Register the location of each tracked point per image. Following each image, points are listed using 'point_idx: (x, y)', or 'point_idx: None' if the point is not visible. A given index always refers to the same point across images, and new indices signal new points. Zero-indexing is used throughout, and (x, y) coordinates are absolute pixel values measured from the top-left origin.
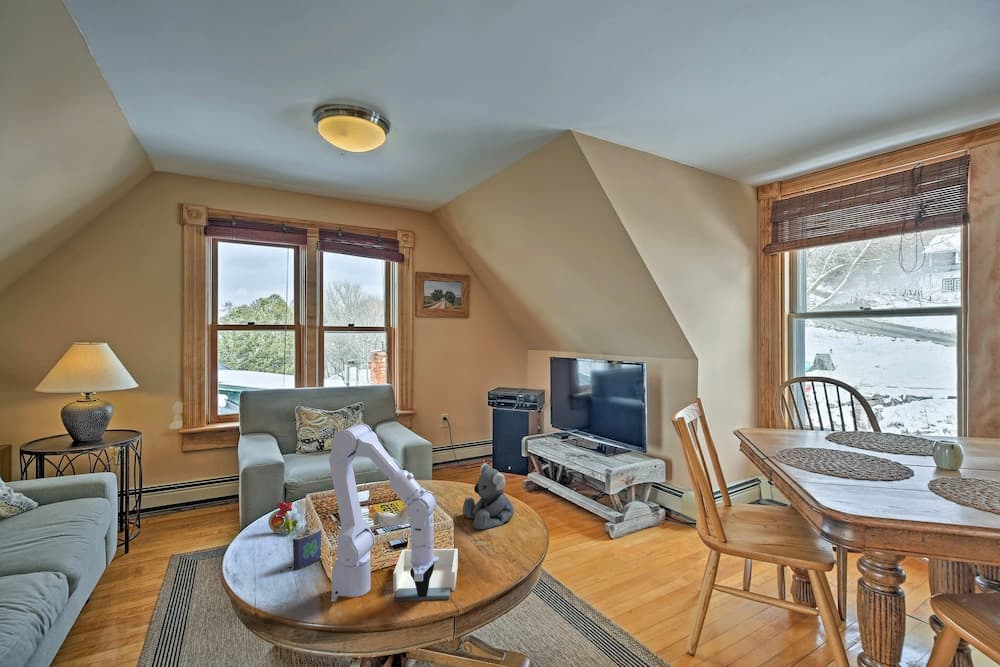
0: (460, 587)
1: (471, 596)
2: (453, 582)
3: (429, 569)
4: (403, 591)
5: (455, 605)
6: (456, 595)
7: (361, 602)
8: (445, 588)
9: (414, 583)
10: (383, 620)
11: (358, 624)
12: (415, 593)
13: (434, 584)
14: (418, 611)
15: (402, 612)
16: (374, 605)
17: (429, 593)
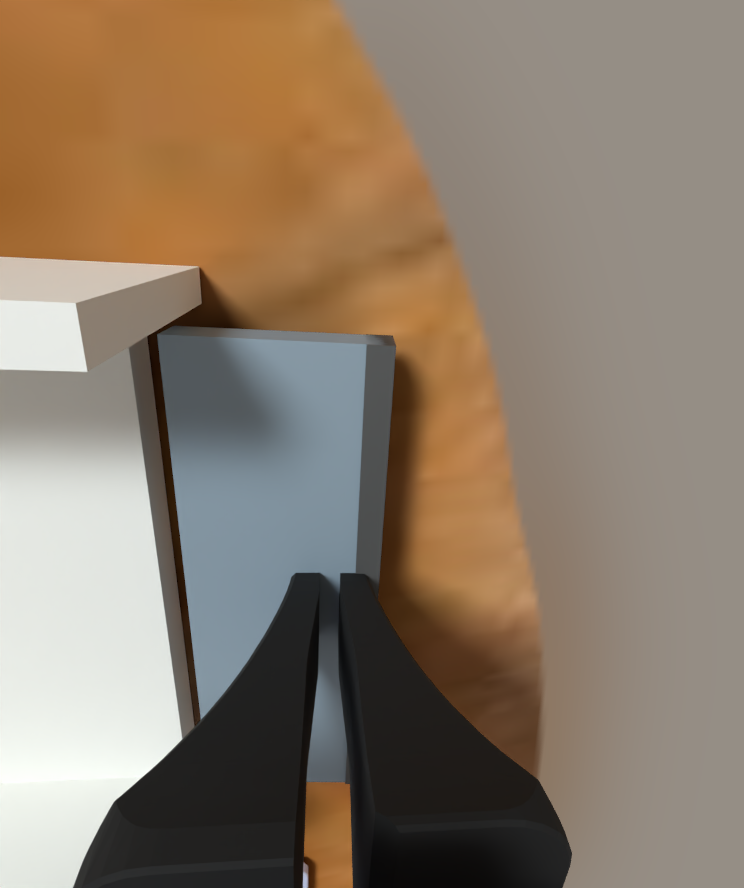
0: (16, 191)
1: (225, 24)
2: (154, 300)
3: (400, 877)
4: None
5: (408, 253)
6: (208, 244)
7: (308, 875)
8: (190, 394)
9: (84, 681)
10: (519, 746)
11: None
12: None
13: (75, 512)
14: (456, 573)
15: (450, 668)
16: (346, 817)
17: (305, 551)
